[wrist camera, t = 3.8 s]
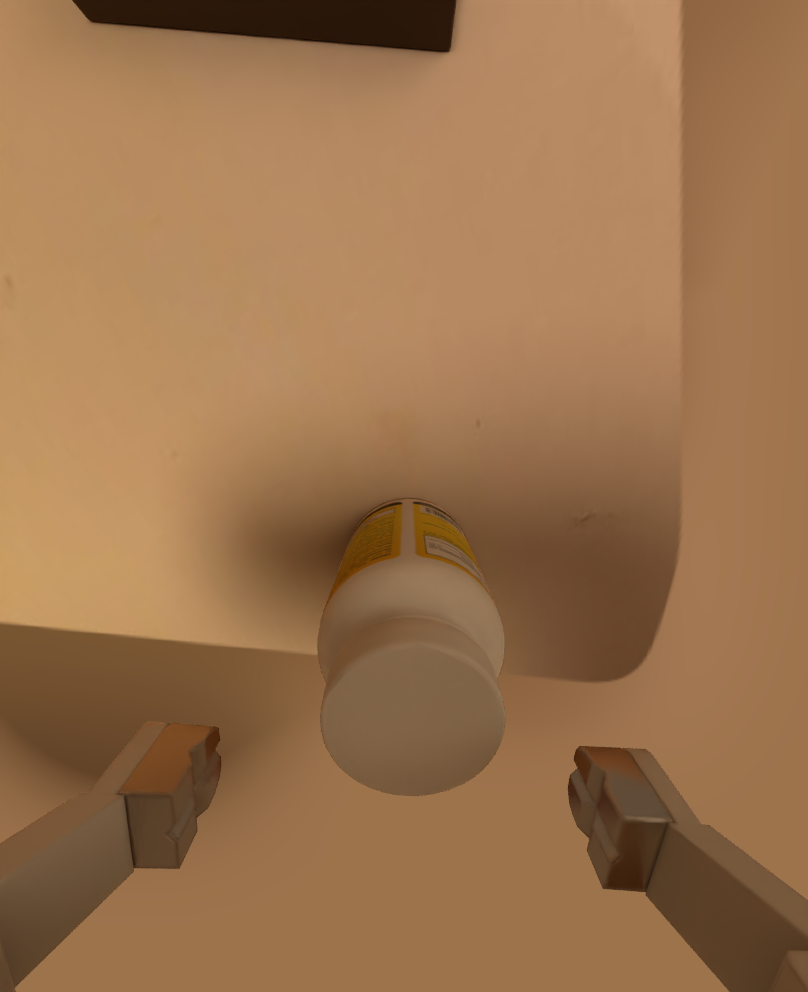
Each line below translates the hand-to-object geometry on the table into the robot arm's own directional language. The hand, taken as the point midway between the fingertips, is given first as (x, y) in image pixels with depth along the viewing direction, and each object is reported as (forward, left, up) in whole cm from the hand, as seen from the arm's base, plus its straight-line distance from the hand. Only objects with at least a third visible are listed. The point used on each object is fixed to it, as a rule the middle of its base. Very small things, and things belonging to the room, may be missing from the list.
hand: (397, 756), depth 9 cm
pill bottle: (0, 0, -12) cm, 12 cm away
